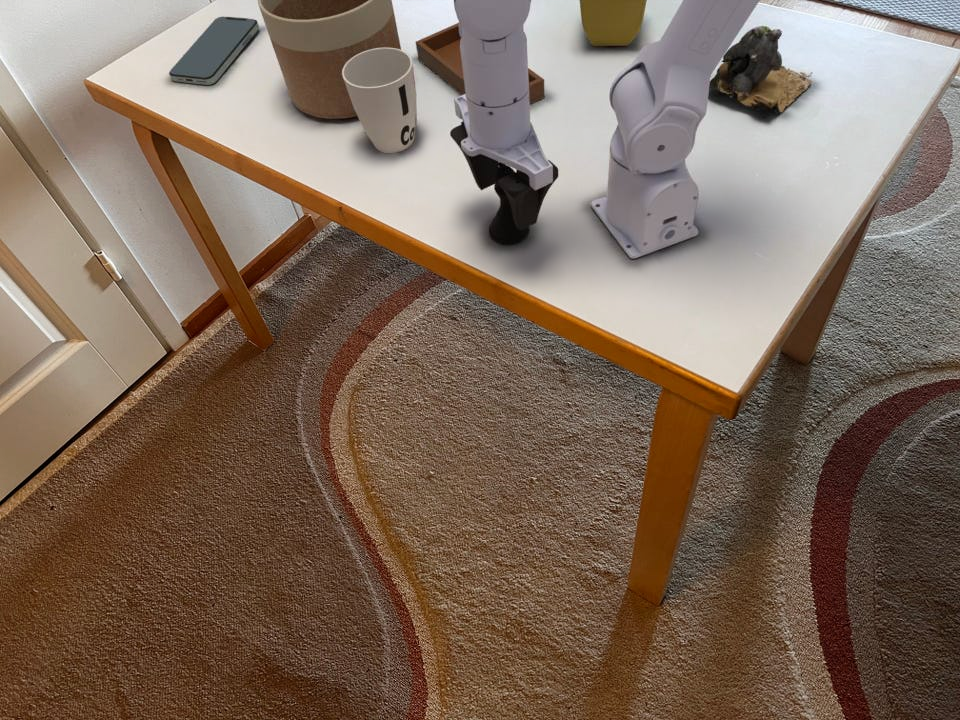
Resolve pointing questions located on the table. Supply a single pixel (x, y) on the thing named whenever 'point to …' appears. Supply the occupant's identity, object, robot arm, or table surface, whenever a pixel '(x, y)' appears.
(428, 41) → the brown rectangular tray
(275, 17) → the planter
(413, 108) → the cup
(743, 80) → the figurine
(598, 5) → the flower pot
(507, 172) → the chess piece
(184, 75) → the smartphone
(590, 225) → the table surface
